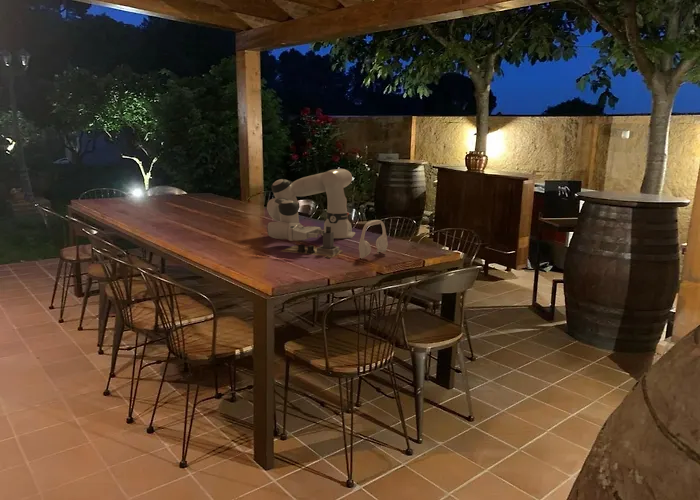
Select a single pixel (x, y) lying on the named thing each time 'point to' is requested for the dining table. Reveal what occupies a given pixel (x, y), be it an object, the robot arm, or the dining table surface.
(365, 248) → the headset
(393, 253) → the dining table surface
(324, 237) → the grey square bottle
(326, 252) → the cable board
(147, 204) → the dining table surface
